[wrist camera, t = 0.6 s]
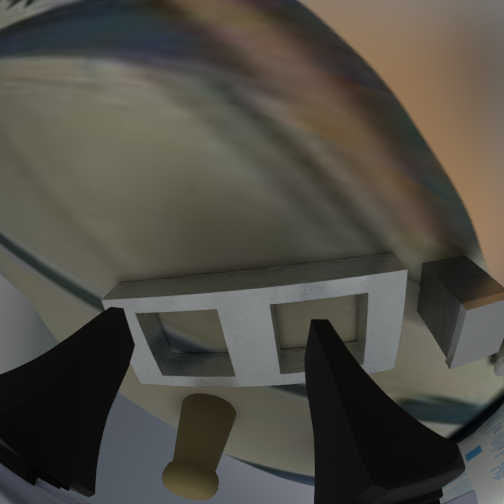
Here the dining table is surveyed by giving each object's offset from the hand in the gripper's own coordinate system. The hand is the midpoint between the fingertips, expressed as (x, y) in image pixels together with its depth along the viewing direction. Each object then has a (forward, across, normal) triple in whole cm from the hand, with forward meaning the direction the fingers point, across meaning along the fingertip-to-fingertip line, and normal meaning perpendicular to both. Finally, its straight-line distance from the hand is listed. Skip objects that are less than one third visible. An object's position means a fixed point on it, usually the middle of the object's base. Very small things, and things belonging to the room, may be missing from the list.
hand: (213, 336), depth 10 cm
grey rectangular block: (+10, -17, +4) cm, 20 cm away
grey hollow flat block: (+10, -1, +8) cm, 12 cm away
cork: (+9, +4, +20) cm, 23 cm away
